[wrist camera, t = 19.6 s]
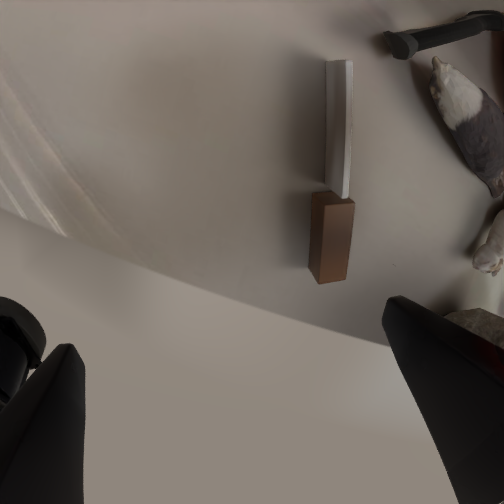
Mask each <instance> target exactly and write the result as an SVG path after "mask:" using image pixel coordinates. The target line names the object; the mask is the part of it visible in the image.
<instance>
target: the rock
mask: <svg viewBox="0 0 504 504" xmlns="http://www.w3.org/2000/svg"><path fill="white" fill-rule="evenodd" d="M444 318H446V319H448V320H450V321H452V322H454V323H456V324H458V325H460V326H462V327H464V328H465V329H467V330H469V331H471V332H473V333H475V334H477V335H479V336H481V337H482V338H484V339H486V340H488V341H490V342H492V343H493V344H494V345H497V346H499V347H501V348H503V349H504V318H502V317H499V316H497V315H495V314H493V313H490V312H488V311H486V310H483V309H481V308H477V309H471V310H464V311H457V312H451V313H449V314H448V315H446V316H444Z"/></svg>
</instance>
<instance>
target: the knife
mask: <svg viewBox="0 0 504 504" xmlns="http://www.w3.org/2000/svg"><path fill="white" fill-rule="evenodd" d="M485 30H486V31H501V30H504V13H500V12H498V11H494V10H482V11H472V12H469V13H468V14H467V15H466V16H464V17H461V18H458V19H456V20H455V21H454V22H452V23H448V24H443V25H439V26H433V27H428V28H421V29H411V30H406V31H402V32H394V33H393V32H390V31H386V32H383V34H384V36H385V38H386V41H387V43H388V45H389V47H390V50H391V52H392V54H393V57H394V58H396V59H402V60H407V59H409V58H412V57H413V55H414V54H415V53H416V52H418V51H421V50H425V49H428V48H432V47H436V46H439V45H443V44H447V43H451V42H454V41H457V40H461V39H464V38H467V37H471V36H474V35H477V34H479V33H481V32H482V31H485Z"/></svg>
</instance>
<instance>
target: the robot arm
mask: <svg viewBox="0 0 504 504" xmlns="http://www.w3.org/2000/svg"><path fill="white" fill-rule="evenodd" d="M382 326H383V328H384V331H385V333H386V336H387V338H388V341H389V343H390V346H391V348H392V351H393V353H394V356H395V359H396V361H397V364H398V366H399V368H400V370H401V372H402V374H403V376H404V378H405V380H406V382H407V385H408V387H409V389H410V391H411V393H412V395H413V397H414V399H415V401H416V403H417V405H418V407H419V409H420V411H421V414H422V416H423V418H424V420H425V422H426V425H427V427H428V429H429V431H430V434H431V436H432V438H433V440H434V443H435V445H436V447H437V450H438V452H439V454H440V456H441V459H442V461H443V464H444V466H445V469H446V471H447V474H448V477H449V479H450V482H451V484H452V487H453V489H454V492H455V495H456V497H457V500H458V502H459V504H499V503H501V502H502V501H504V349H503V348H501V347H499V346H497V345H494V344H493V343H492V342H490V341H488V340H486V339H484V338H482V337H481V336H479V335H477V334H475V333H473V332H471V331H469V330H467V329H465V328H464V327H462V326H460V325H458V324H456V323H454V322H452V321H450V320H448V319H446V318H444V317H443V316H441V315H439V314H437V313H435V312H433V311H431V310H429V309H427V308H425V307H423V306H421V305H419V304H417V303H415V302H413V301H411V300H409V299H407V298H405V297H403V296H401V295H398V296H394V297H390V298H389V299H388V300H387V302H386V306H385V309H384V313H383V316H382ZM30 369H36V370H35V371H34V373H33V374H32V375H31V376H30V377H29V378H28V379H27V375H28V373H29V370H30ZM26 379H27V381H26ZM84 434H85V365H84V363H83V361H82V359H81V357H80V355H79V354H78V352H77V350H76V348H75V347H74V345H73V344H70V343H67V344H59V345H58V346H57V347H56V348H55V349H54V350H53V351H52V352H51V354H50V355H49V356H48V357H47V358H46V359H45V360H44V361H43V362H41V360H40V359H39V357H38V356H37V354H36V353H35V351H34V350H33V348H32V346H31V345H30V343H29V342H28V340H27V339H26V337H25V335H24V334H23V332H22V330H21V329H20V327H19V325H18V324H17V322H16V320H15V319H14V318H13V317H10V316H7V317H0V504H84V496H83V495H84V494H83V457H84ZM501 504H504V502H502V503H501Z"/></svg>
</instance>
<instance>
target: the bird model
mask: <svg viewBox="0 0 504 504" xmlns="http://www.w3.org/2000/svg"><path fill="white" fill-rule="evenodd" d="M432 65H433V71H432V72H433V74H432V77H431V79H430V83H429V89H430V92H431V95H432V98H433V100H434V102H435V104H436V106H437V109H438V111H439V113H440V114H441V116H442V118H443V120H444V122H445V123H446V124H447V126H448V128H449V130H450V132H451V134H452V136H453V137H454V139H455V141H456V142H457V144H458V146H459V147H460V149H461V152H462V154H463V156H464V157H465V159H466V161H467V163H468V165H469V167H470V168H471V169H472V170H473V171H474V172H475V173H476V174H477V175H478V177H479V178H481V179H483V180H484V181H485V182H486V183H487V184H488V185H489V187H490V189H491V192H492V195H493V197H494V198H497V197H499V196H500V195H501V194H502V192H503V191H504V113H502V112H501V110H500V108H499V107H498V106H497V105H496V104H495V103H494V101H493V100H492V99H491V98H490V97H489V96H488V95H487V93H486V92H485V91H484V90H482V89H481V88H478V87H477V86H475V85H474V84H473V83H472V82H471V81H470V80H469V79H467V78H466V77H465V76H464V75H463V74H461V73H460V72H459V71H457V70H456V69H455V68H454V67H452V66H451V65H450V64H448V63H443V62H441V61H440V60H439V59H438V58H437V57H436V56H435V57H433V59H432Z"/></svg>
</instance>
